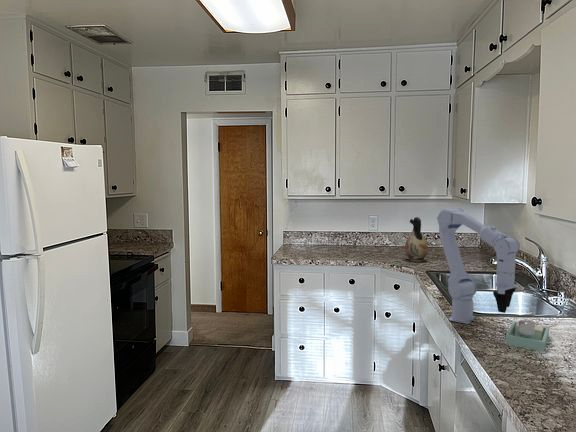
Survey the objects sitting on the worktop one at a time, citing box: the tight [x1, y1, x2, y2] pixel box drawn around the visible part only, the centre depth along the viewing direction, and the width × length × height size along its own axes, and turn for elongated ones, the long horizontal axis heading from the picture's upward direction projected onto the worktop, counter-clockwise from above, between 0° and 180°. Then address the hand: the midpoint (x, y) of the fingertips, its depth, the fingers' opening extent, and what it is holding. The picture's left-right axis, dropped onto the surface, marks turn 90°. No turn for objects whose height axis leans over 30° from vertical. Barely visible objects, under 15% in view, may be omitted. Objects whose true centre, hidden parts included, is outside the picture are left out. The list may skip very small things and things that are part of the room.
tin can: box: [518, 319, 536, 339], centre depth 139 cm, size 5×5×7 cm
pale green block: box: [515, 321, 545, 341], centre depth 145 cm, size 5×8×4 cm, turn 54°
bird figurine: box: [404, 216, 429, 263], centre depth 281 cm, size 17×15×30 cm
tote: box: [504, 320, 550, 352], centre depth 142 cm, size 16×11×4 cm
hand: (503, 309), depth 148 cm, fingers open, 7 cm apart
